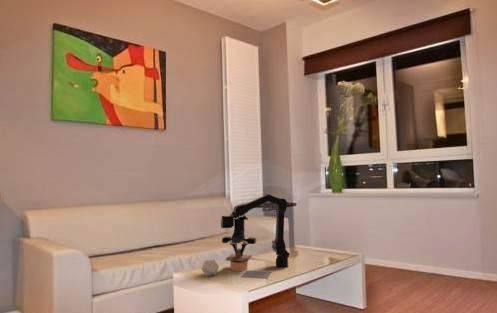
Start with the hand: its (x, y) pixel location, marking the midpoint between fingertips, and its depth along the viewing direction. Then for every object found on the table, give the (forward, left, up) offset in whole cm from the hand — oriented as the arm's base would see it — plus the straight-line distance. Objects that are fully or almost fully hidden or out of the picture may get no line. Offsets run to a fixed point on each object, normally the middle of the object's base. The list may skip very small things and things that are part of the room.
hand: (239, 255), depth 207 cm
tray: (-12, +10, -8) cm, 17 cm away
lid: (0, 0, -2) cm, 2 cm away
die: (+12, +15, -8) cm, 21 cm away
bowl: (0, 0, -8) cm, 8 cm away
